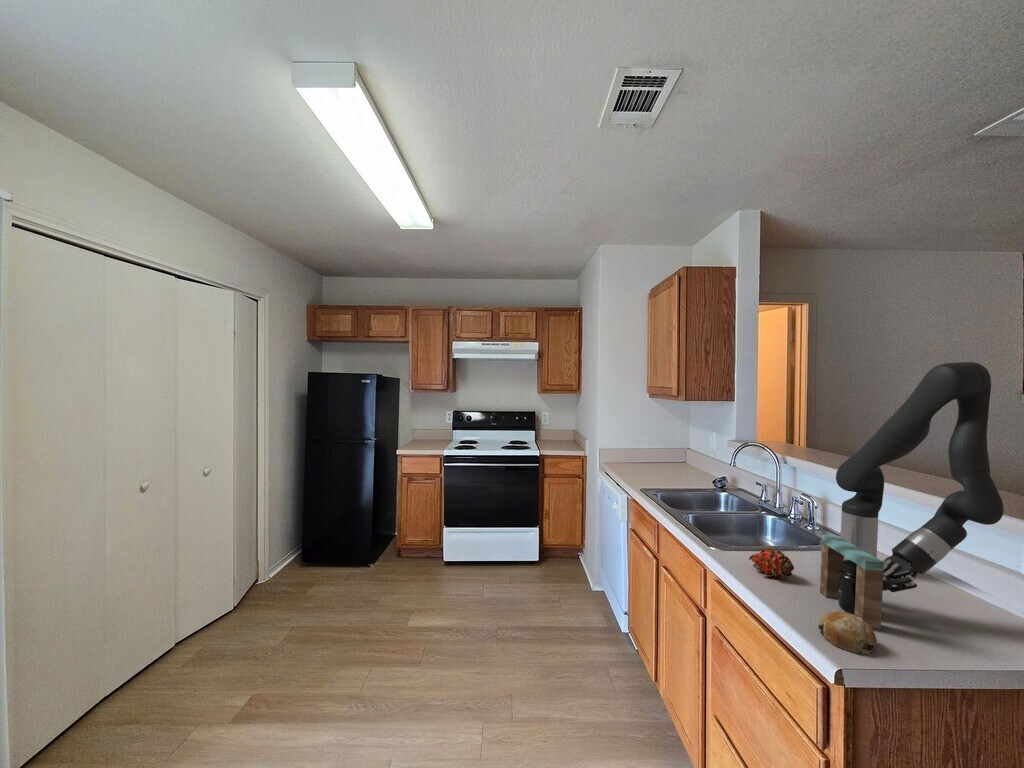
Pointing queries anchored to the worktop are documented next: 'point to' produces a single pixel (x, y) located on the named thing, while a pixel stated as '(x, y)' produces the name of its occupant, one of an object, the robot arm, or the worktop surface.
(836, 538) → the gate
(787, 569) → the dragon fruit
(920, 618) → the worktop surface
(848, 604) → the supplement bottle
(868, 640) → the bread roll
